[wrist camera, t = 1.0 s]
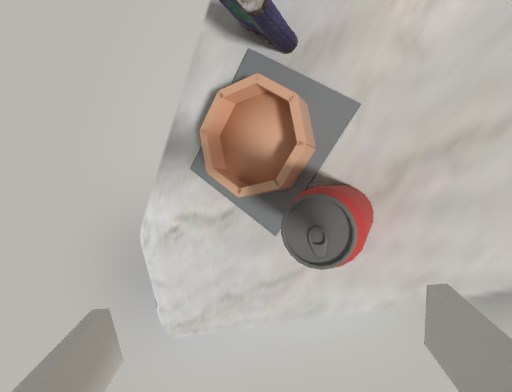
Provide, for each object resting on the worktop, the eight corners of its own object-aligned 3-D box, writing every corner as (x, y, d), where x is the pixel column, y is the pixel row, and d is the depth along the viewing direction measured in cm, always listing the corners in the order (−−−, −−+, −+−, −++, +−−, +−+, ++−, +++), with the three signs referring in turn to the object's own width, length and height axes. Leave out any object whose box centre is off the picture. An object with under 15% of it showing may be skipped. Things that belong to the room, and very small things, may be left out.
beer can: (317, 243, 31) (280, 276, 21) (309, 188, 31) (269, 192, 21) (377, 241, 28) (371, 278, 18) (369, 180, 28) (358, 180, 18)
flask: (238, 24, 35) (181, -37, 25) (250, 2, 34) (196, -70, 24) (289, 59, 32) (247, 6, 22) (304, 36, 31) (267, -30, 21)
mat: (250, 49, 34) (248, 48, 34) (360, 104, 28) (360, 103, 28) (192, 169, 39) (190, 169, 39) (276, 235, 34) (275, 235, 33)
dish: (248, 71, 34) (232, 59, 30) (334, 118, 29) (328, 110, 26) (204, 159, 37) (186, 157, 34) (275, 212, 33) (263, 216, 30)
